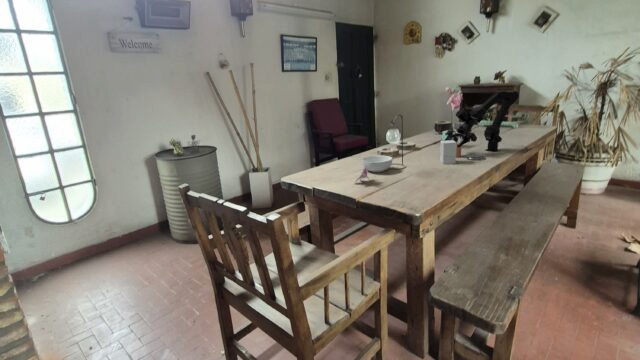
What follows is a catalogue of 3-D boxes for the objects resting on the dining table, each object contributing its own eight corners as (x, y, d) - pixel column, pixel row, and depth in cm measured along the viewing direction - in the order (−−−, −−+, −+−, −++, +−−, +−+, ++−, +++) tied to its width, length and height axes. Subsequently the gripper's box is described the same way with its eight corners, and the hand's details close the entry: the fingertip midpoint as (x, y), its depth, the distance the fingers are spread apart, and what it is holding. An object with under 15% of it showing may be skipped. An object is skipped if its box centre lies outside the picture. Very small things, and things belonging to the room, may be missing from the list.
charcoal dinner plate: (473, 155, 211) (473, 154, 211) (487, 158, 203) (488, 156, 202) (462, 158, 206) (462, 156, 206) (477, 161, 198) (477, 159, 198)
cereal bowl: (374, 165, 203) (374, 153, 201) (398, 169, 192) (398, 157, 190) (356, 171, 192) (356, 159, 190) (380, 176, 181) (380, 163, 179)
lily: (370, 180, 179) (361, 164, 178) (384, 176, 169) (374, 159, 168) (355, 192, 174) (345, 176, 173) (368, 188, 163) (358, 172, 162)
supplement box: (452, 160, 202) (453, 139, 199) (455, 163, 195) (456, 142, 192) (439, 161, 203) (440, 140, 200) (442, 164, 196) (443, 142, 193)
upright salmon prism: (454, 155, 214) (455, 142, 212) (460, 156, 211) (461, 143, 208) (450, 156, 212) (450, 143, 210) (456, 157, 209) (456, 144, 206)
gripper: (449, 117, 214) (436, 136, 212) (475, 119, 199) (462, 140, 197) (456, 128, 220) (444, 147, 218) (482, 130, 205) (469, 151, 203)
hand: (454, 146), depth 209 cm, fingers closed on upright salmon prism, 4 cm apart
